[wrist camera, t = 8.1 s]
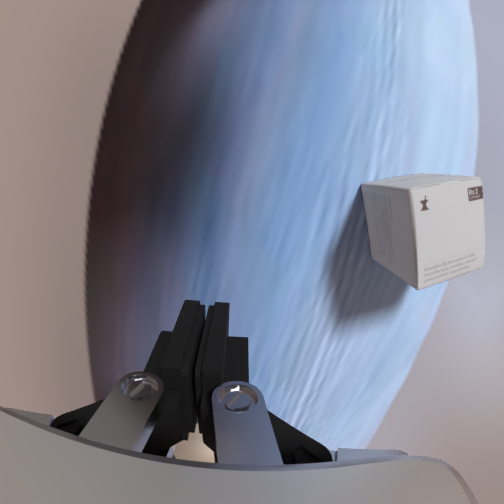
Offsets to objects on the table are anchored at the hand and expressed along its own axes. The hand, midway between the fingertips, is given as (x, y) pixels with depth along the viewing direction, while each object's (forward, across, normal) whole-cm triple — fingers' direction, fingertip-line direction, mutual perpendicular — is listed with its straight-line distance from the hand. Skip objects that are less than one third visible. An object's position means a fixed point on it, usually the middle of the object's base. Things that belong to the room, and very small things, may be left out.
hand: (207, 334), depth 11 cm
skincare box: (+12, -13, -4) cm, 18 cm away
